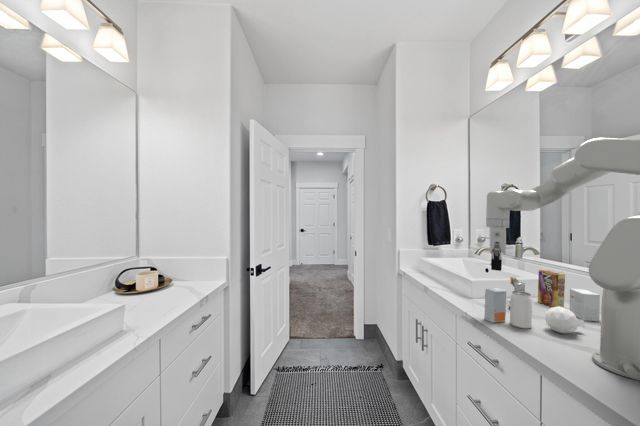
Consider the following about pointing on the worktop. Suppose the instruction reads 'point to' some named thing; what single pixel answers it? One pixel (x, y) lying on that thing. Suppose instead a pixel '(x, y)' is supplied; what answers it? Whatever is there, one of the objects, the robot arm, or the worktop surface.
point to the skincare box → (495, 305)
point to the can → (521, 309)
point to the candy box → (551, 288)
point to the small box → (585, 304)
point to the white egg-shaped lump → (562, 320)
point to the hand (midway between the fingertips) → (496, 267)
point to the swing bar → (517, 284)
